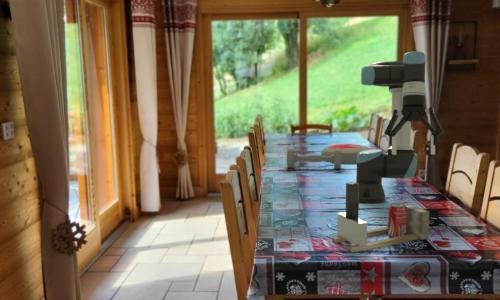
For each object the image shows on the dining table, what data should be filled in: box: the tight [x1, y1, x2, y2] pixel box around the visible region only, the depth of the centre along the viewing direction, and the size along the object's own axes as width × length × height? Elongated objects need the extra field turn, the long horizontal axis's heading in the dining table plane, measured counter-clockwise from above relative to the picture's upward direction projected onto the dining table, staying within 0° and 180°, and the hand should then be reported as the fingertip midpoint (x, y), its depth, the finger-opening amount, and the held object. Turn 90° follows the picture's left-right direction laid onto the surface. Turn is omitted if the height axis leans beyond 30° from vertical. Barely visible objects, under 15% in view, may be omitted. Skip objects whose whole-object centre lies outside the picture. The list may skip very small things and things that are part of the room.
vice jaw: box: [336, 181, 368, 247], centre depth 158 cm, size 13×4×20 cm, turn 23°
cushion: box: [320, 143, 372, 164], centre depth 321 cm, size 37×37×10 cm
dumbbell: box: [286, 147, 342, 170], centre depth 289 cm, size 13×33×13 cm, turn 80°
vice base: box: [331, 201, 430, 253], centre depth 164 cm, size 14×32×10 cm, turn 113°
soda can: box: [387, 202, 407, 238], centre depth 167 cm, size 6×6×12 cm
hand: (412, 154), depth 164 cm, fingers open, 13 cm apart
